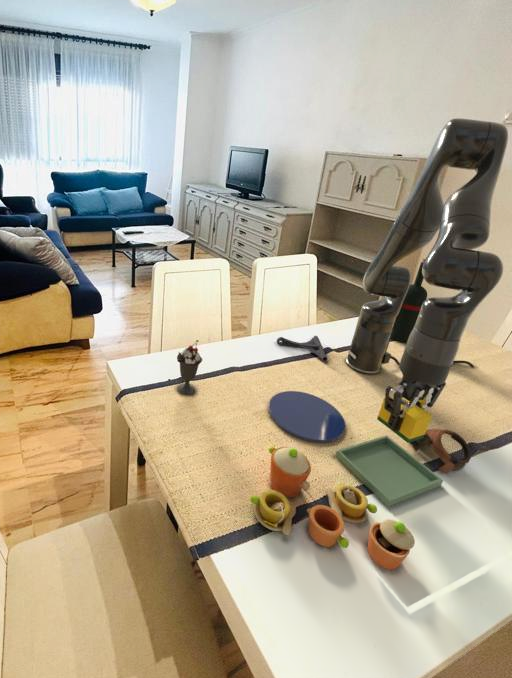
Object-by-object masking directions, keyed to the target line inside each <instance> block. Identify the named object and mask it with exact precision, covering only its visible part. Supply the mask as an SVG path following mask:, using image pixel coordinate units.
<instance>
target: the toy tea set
mask: <svg viewBox="0 0 512 678" xmlns="http://www.w3.org/2000/svg"><path fill="white" fill-rule="evenodd" d="M268 452H269V454H271V455H270V472H269V476H270V477H269V482H270V486H271V488H272V489H266V490H264V491H262V492H261V494H260V496H258V495H256V494H253V495H251V496H250V502H251V504H253V513H254V516H255V518H256V520H257V521H258V523H260V524H261V525H262V526H263V527H265V528H266V529H268V530H271V531H274V532H282V534H283V535H286V536H290V534H291V532H292V531H291V530H292V523H293V518H294V517H295V516H296V513H297V510H296V507H295V505H293V504H291V503H290V502H289V500H288V498H294V497H297V496H298V495H299V494H300V492H301V490H304V491H308V490H309V489H310V487H311V485H310V484H311V483H309V482H308V481H307V479H308V478H309V476H310V474H311V471H312V466H311V465H312V464H311V462H310V461H309V459H308V457H307V456H306V455H305V454H304V453H302V452H301V451H299V450H297V449H296V448H295V447H288V446H281V447H278V448H276V447H275V446H269V448H268ZM325 493H326V495H327V498H328V504H329V506H328V505H325V504H316V505H314V506H312V507H309V508H307V509H306V513H307V514H308V515H309V517H308V533H309V536H310V538H311V539H312V540H313V541H314V542H315V543H317V544H318V545H320V546H322V547H326V548H329V547H333V546H334V545H336V543H337V542H338V545H339V546H340V547H341V548H343V549H347V548H348V547H349V545H350V542H349V540H348V539H347V537H344V536H342V534H343V533H344V532H345V527H346V526H345V522H347V523H351V524H361V523H364V522H365V521H366V520H367V518H368V512H369V513H371V514H376V513H378V508H377V505H375V504H374V503H369V501H368V498H367V496H366V494H365V493H364V492H363V491H362V490H361V489H359V488H357V487H355V486H354V485H351V484H349V483H346V484H339V485H338V486H337V488H336V490H333V488H332V487H331V486H327V487H326V488H325ZM367 510H368V511H367ZM369 528H370V529H369V534H368V539H367V540H368V541H367V553H368V555H369V557H370V558H371V560H372V561H373V562H374V563H375V564H376V565H378V566H379V567H381V568H383V569H385V570H388V571H390V570H391V571H393V570H396V569H398V567H399V566H400V565H401V564H402V563H403V561H405V559H406V558H407V557H408V556H409V554H410V551H411V549H413V547H414V546H415V543H416V542H415V537H414V535H413V533H412V532H411V530H410V529H409V528H408V527H407V526H406V525H405V524H404V523H403V522H402V521H397V520H394V519H390V518H389V519H384V520H382V521H381V522H376V523H373V524H372V525H371V526H370V527H369Z"/></svg>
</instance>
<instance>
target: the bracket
mask: <svg viewBox="0 0 512 678" xmlns="http://www.w3.org/2000/svg"><path fill="white" fill-rule="evenodd" d="M276 343H277V345H278V346H281V347H286V348H287V347H288V348H293V349H294V348H295V349H301V350H302V349H303V350H307V351H309V352H310V353H312V354H314V355H316V356H317V357H318V358H319V359H321V360H322V361H323V362H327V361H329V359H328V356H327V354H326V352H325V349H324V347H323V345H322V342H321V340H320V339H319V337H318V335H313V337H311V339H310V340H308V341H306V342H297V341H293V340H291V339H287V338H285V337H282V336H280V337H278V338H277V339H276Z"/></svg>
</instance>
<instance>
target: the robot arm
mask: <svg viewBox="0 0 512 678" xmlns="http://www.w3.org/2000/svg"><path fill="white" fill-rule="evenodd" d="M508 130H509V129H508V127H507V126H506V125H504V124H503V123H499V122H494V121H486V120H479V119H477V120H476V119H471V118H470V119H469V118H461V117H459V118H458V117H457V118H451V119H450V120H449V121H447V123H445V124H444V126H443V127H442V128H441V130H440V132H439V134H438V135H437V137H436V139H435V141H434V143H433V145H432V148H431V150H430V152H429V154H428V156H427V159H426V161H425V164H424V165H423V168H422V170H421V172H420V175H419V176H418V179H417V181H416V183H415V184H414V186H413V188H412V190H411V192H410V194H409V195H408V198H407V199H406V201H405V203H404V205H403V206H402V208H401V210H400V211H399V213H398V215H397V217H396V218H395V221H394V223H393V224H392V227H391V229H390V231H389V233H388V235H387V237H386V239H385V240H384V242H383V244H382V246H381V247H380V249H379V251H378V252H377V253H376V255H375V256H374V258H373V260H372V261H371V262H370V264H369V265H368V267H367V269H366V270H365V272H364V275H363V278H362V289H363V291H364V292H365V293H366V294H367V295H372V296H375V297H382V298H380V299H377V300H372V301H368V302H364V303H363V304H362V306H361V307H360V308H361V309H360V312H359V315H358V319H357V323H356V326H355V328H354V329H355V330H354V333H353V337H352V340H351V343H350V347H349V349H348V350H347V353H348V354H347V357H346V359H345V363H346V364H347V366H348V367H349V368H351V369H353V370H355V371H356V372H359V373H362V374H367V375H373V374H378V373H379V372H380V370H381V369H382V367H383V365H386V364H389V363H390V360H393V361H394V362H395V364H396V365H397V366H398V368H399V370H400V372H401V374H402V377H401V379H400V380H399V382H398V383H397V384H398V385H397V386H395V387H393V386H391V385H388V386H387V387H386V388H385V393H384V398H385V405H384V409H385V410H387V411H388V412H390V413H391V415H390V417H389V420H388V423H387V425H388V427H389V428H391V429H392V430H393V431H395V432H397V431H399V430H400V428H401V425H402V422H403V420H404V416H405V415H406V413H407V412H408V410H409V409H412V408H413V407H414V406H415V405H417V406H418V407H420V408H421V409H423V410H424V411H426V410H427V409H428V408H432V407H434V405H435V403H436V401H437V400H438V398H440V397H439V396H440V395H441V393H442V392H443V390H444V388H445V387H446V385H447V382H446V381H447V379H448V376H449V374H450V371H451V369H452V366H453V364H465V365H468V366H470V367H471V368H475V365H474V364H473V363H471V362H470V361H467V360H455V359H456V356H457V354H458V352H459V348H460V343H461V339H462V337H463V334H464V332H465V330H466V327H467V325H468V322H469V321H470V319H471V318H472V317H471V316H472V315H473V314H474V313H475V311H476V310H477V309H478V307H479V305H481V304H482V303H483V301H484V300H485V299H486V298H487V297H488V296H489V294H491V292H492V291H493V290H494V289H495V288H496V287H497V285H498V284H499V283H500V280H501V279H502V277H503V273H504V264H503V261H502V260H501V258H500V256H498V255H497V254H495V253H492V252H488V251H482V250H476V249H479V248H480V247H482V246H483V245H485V244H486V243H487V242H488V240H489V237H490V232H491V213H492V212H491V211H492V202H493V197H494V192H495V189H496V186H497V183H498V180H499V176H500V173H501V169H502V165H503V162H504V158H505V154H506V150H507V146H508V141H509V131H508ZM446 167H449V168H455V169H461V170H468V171H475V175H473V176H472V177H471V178H470V179H469V180H468V181H467V182H465V183H464V184H463V185H461V186H460V187H459V188H457V189H456V190H455V191H453V193H452V194H450V195H449V196H448V198H447V199H446V201H445V202H444V199H443V195H442V192H441V183H440V177H441V173H442V171H443V169H445V168H446ZM437 233H438V234H437ZM436 235H437V238H436V240H435V243H434V245H433V246H432V248H431V250H430V251H429V253H428V254H427V256H426V258H424V259H425V261H424V263H423V266H422V275H423V277H424V279H423V280H425V282H426V283H427V284H429V285H431V286H434V287H438V288H442V289H443V288H444V289H448V290H454V291H460V292H458V293H457V294H456V295H454V296H445V297H444V296H436V297H427V299H426V300H425V301H424V302H423V304H422V306H421V309H420V312H419V314H418V317H417V320H416V323H415V326H414V328H413V330H412V332H411V334H410V336H409V338H408V341H407V343H405V347H404V350H403V353H402V356H401V359H400V361H399V360H398V359H397V358H396V357H395V356H393V355H392V354H391V353H389V352H388V348H389V345H390V341H389V340H390V339H391V338H390V335H391V332H392V328H393V325H394V322H395V319H396V317H397V315H398V314H399V311H400V309H401V306H402V303H403V301H404V298H405V296H406V294H407V291H408V288H409V285H411V279H412V273H411V271H410V269H409V268H407V267H406V266H402V265H395V264H396V263H397V262H399V261H401V260H403V259H405V258H406V257H408V256H410V255H413V254H415V253H417V252H418V251H420V250H422V249H423V248H424V247H426V246H427V245H428V244H430V243H431V242H432V240H433V239H434V238H435V236H436ZM403 397H404V398H405V399H407V400H408V401H410V402H409V403H408V402H407V401H405V400H404V399H403ZM401 404H402V405H403V408H402V410H401ZM388 427H387V428H388ZM389 428H388V429H389ZM392 430H391V431H392ZM393 431H392V432H393Z"/></svg>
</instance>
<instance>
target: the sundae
mask: <svg viewBox="0 0 512 678" xmlns="http://www.w3.org/2000/svg"><path fill="white" fill-rule="evenodd" d="M199 341H200V340H199V339H198V340H197V339H196V340H195V342H194V344H195V347H194V344H192V345H189V346H188V347H185V349H184V350H182V352H179V351H178V354H177V356H176V360H177V362H178V363H179V372H180V376H181V378H182V379H183V380H184V381H185V382H184V383H182V384H179V385H178V386H177V389H176V390H177V392H178V393H179V394H181V396H188V397H189V396H192V395H194V394H195V393H196V388H195V387H194V386H193V385H192V384H190V381H192V380H194V379H195V378H196V375H197V373H198V369H199V365H200V364H201V363H202V362H203V358H202V356H201V354H200V353H199V352H198V351H199V348H198V347H197V346H198V345H197V344H198V342H199Z"/></svg>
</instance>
